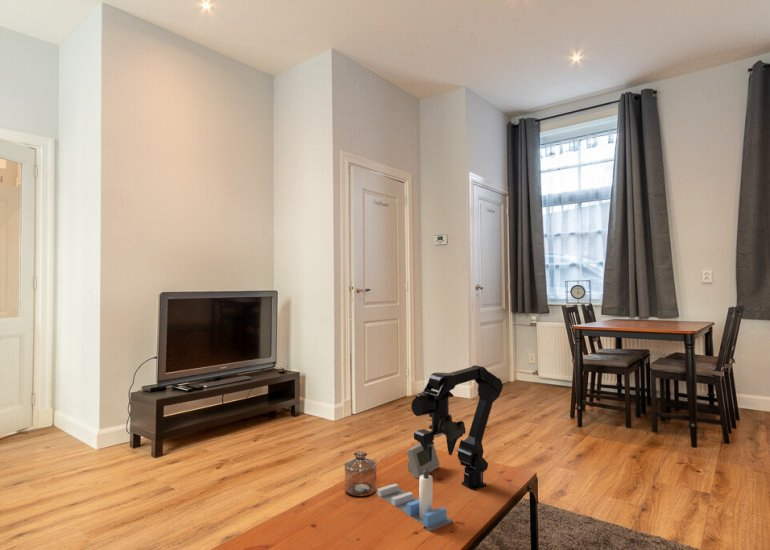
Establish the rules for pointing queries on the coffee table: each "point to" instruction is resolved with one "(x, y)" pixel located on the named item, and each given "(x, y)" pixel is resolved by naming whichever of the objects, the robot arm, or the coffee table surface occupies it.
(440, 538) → the coffee table surface
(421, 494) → the bottle
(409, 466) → the digital clock
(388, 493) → the slotted divider tray
